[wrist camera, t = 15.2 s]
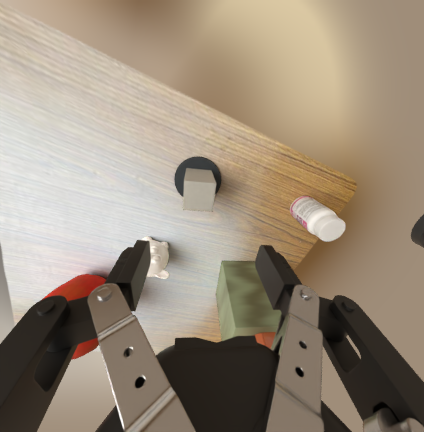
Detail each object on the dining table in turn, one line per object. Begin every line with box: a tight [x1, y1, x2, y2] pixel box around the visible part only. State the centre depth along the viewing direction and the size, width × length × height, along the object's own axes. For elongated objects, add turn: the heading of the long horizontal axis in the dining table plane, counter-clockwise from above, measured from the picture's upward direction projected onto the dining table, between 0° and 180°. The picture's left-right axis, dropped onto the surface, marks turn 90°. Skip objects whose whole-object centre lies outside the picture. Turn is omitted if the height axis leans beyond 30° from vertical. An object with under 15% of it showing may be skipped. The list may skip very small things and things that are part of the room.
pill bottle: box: [290, 196, 346, 242], centre depth 29 cm, size 5×5×8 cm
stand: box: [216, 261, 281, 341], centre depth 34 cm, size 11×11×14 cm
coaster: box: [175, 157, 221, 197], centre depth 28 cm, size 8×8×1 cm
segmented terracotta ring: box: [252, 332, 276, 349], centre depth 27 cm, size 8×8×2 cm
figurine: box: [142, 236, 169, 279], centre depth 31 cm, size 8×6×7 cm
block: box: [183, 168, 216, 212], centre depth 25 cm, size 4×4×7 cm
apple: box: [42, 274, 106, 359], centre depth 30 cm, size 12×12×14 cm
